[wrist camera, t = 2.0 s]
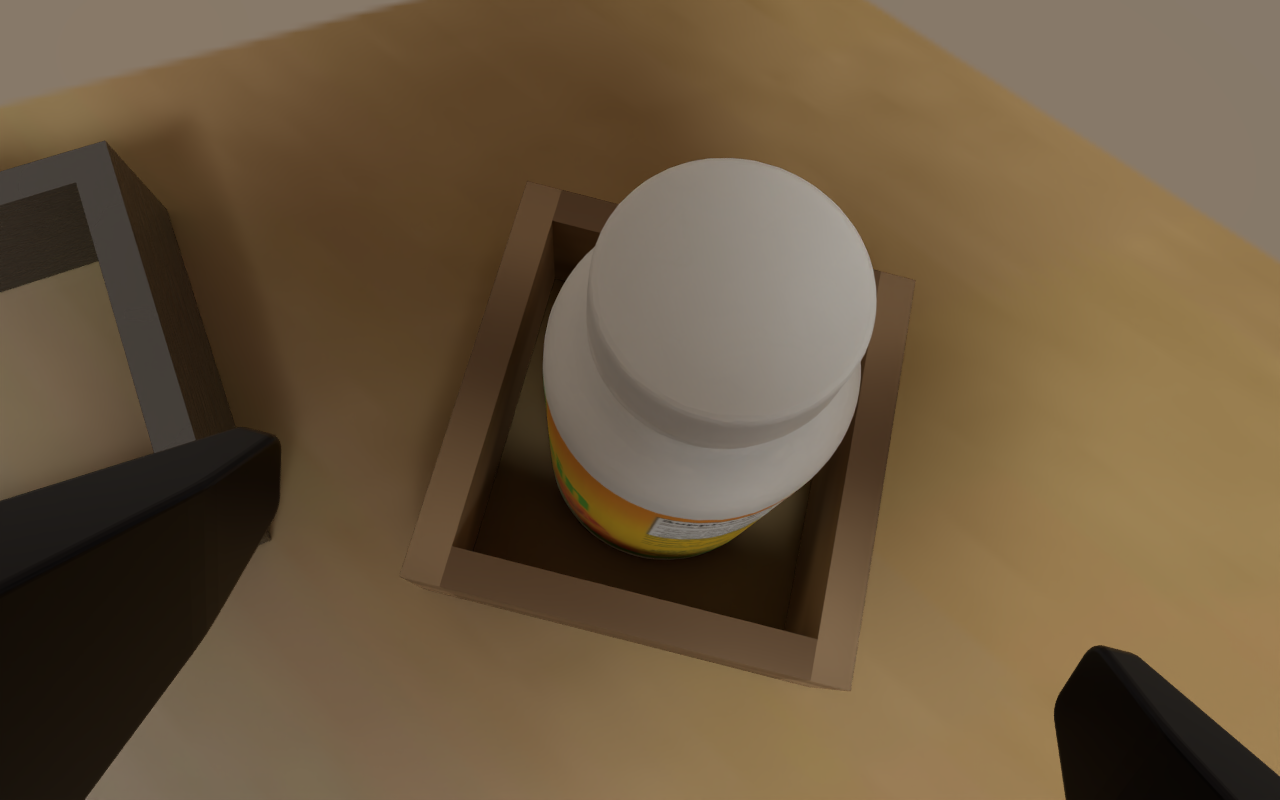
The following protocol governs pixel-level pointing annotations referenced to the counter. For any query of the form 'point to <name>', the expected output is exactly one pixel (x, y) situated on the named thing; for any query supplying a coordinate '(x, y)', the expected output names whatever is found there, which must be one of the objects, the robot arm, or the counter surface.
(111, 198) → the dock collar
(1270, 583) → the counter surface
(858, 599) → the holder sleeve
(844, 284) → the supplement bottle
